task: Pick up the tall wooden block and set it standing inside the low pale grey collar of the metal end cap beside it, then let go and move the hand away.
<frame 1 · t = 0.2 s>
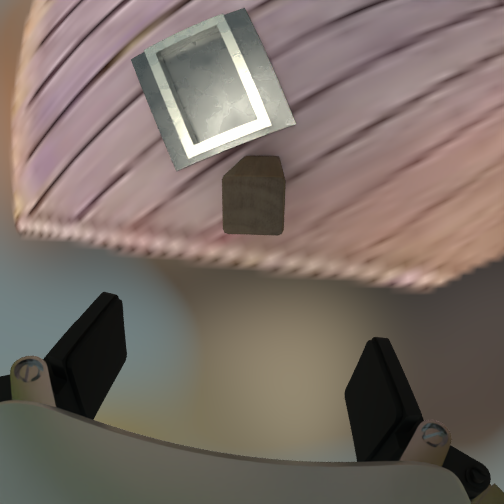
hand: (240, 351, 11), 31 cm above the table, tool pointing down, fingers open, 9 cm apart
wooden block: (261, 190, 40), on the table
end cap: (210, 86, 35), on the table
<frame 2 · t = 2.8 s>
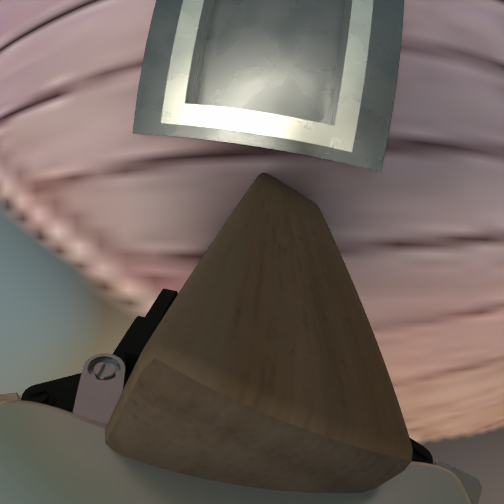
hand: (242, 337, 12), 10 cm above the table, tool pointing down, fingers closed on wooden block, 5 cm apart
wooden block: (256, 242, 22), on the table, touching gripper
end cap: (276, 23, 16), on the table
when the fingers open (12 cm above the table, at t = 13.4 s): wooden block stays where it is, resting on end cap.
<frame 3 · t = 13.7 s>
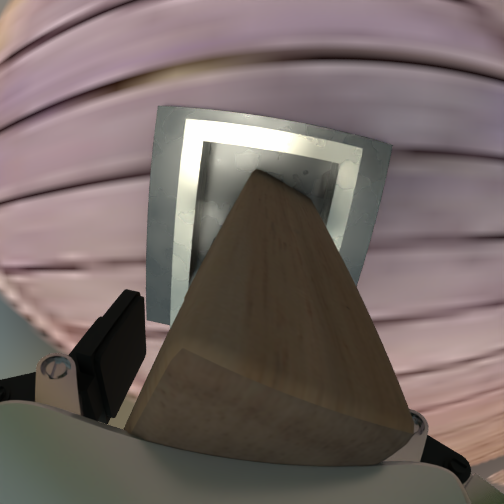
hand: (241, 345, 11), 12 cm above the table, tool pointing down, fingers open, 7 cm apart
wooden block: (252, 237, 22), point 1 cm above the table, touching end cap
end cap: (257, 236, 23), on the table
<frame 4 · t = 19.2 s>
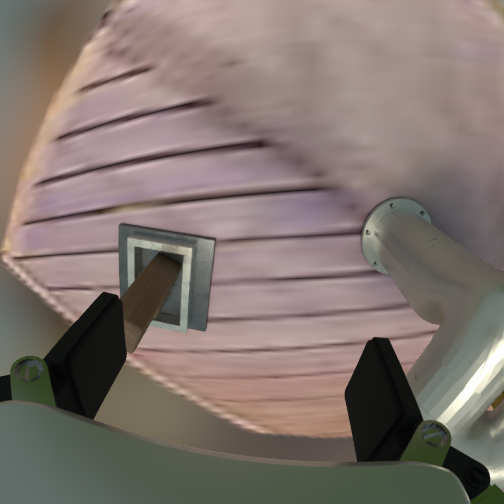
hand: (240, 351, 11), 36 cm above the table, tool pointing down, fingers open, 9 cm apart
wooden block: (160, 279, 51), point 1 cm above the table, touching end cap
end cap: (164, 278, 51), on the table
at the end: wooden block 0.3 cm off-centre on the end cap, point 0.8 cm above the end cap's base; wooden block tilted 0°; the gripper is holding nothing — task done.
